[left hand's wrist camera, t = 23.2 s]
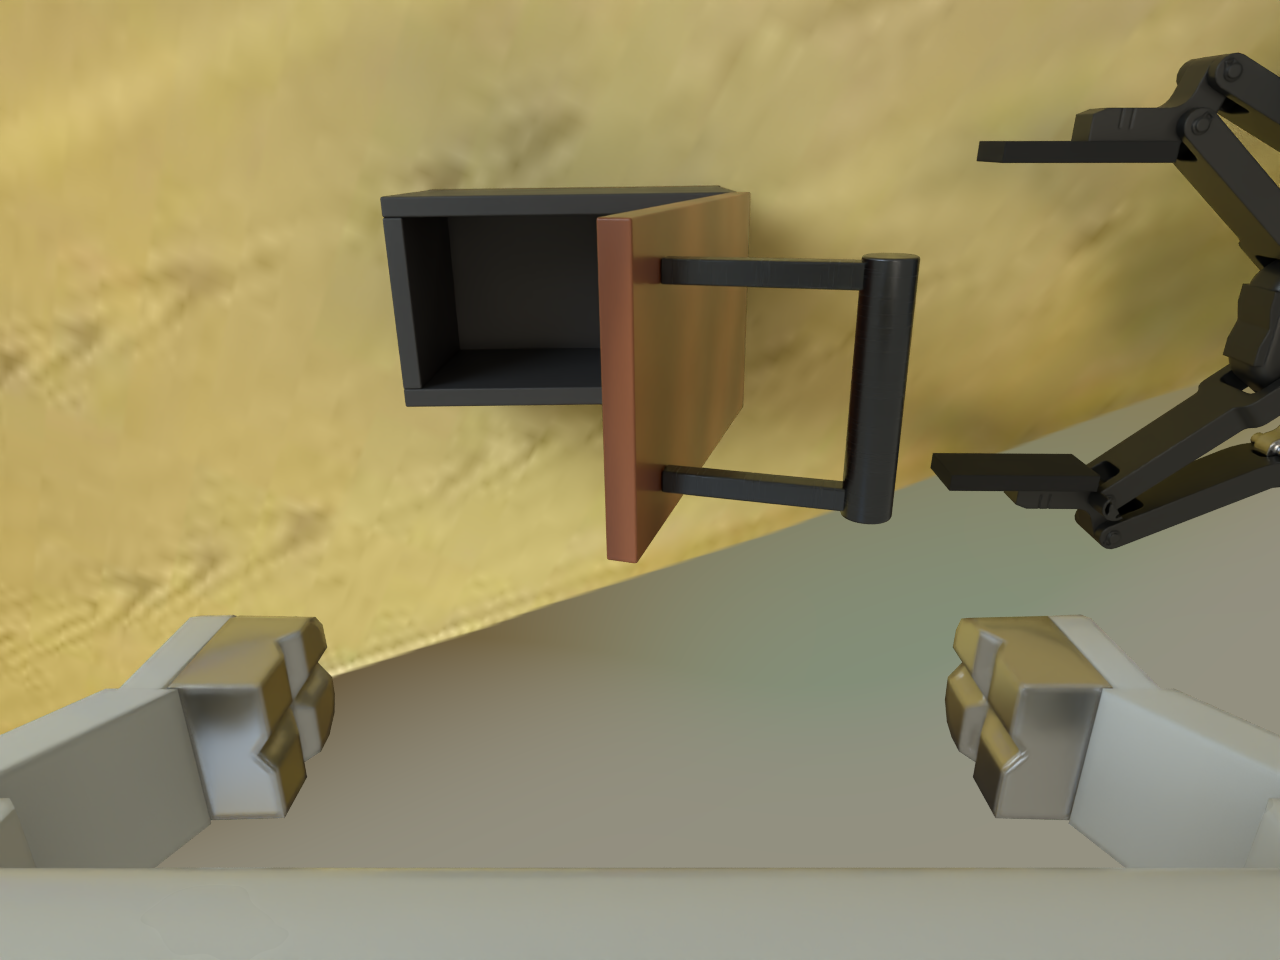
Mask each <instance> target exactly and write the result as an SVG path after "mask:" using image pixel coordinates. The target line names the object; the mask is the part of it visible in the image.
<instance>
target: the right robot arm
mask: <svg viewBox="0 0 1280 960" xmlns="http://www.w3.org/2000/svg"><path fill="white" fill-rule="evenodd" d="M1176 82H1177V85H1178V86H1177V87H1176V89H1175V91H1174V93H1173V94H1172V96H1171V97H1170V99H1169V100H1168V101H1167V102H1166V103H1165V104H1163V105H1162V106H1160V107H1157V108H1100V109H1089V110H1087V111H1084V112H1082V113H1079V114H1077V115H1076V118H1075V124H1074V129H1073V134H1072V139H1071V141H980V142H979V149H978V156H977V161H983V162H998V163H1173V164H1174V165H1175V166H1176V167H1177V168H1178V169H1179V171H1180V172H1181V173H1182V174H1183V175H1184V176H1185V177H1186V179H1187V180H1188V181H1189V182H1190V183H1191V184H1192V185H1193V187H1194V188H1195V189H1196V190H1197V191H1198V192H1199V193H1200V195H1201V196H1202V197H1203V198H1204V199H1205V200H1206V201H1207V203H1208V204H1209V205H1210V206H1211V207H1212V208H1213V209H1214V211H1215V212H1216V213H1217V214H1218V215H1219V216H1220V217H1221V219H1222V220H1223V221H1224V222H1225V223H1226V224H1227V225H1228V227H1229V228H1230V229H1231V230H1232V231H1233V232H1234V233H1235V235H1236V236H1237V237H1238V238H1239V239H1240V242H1239V246H1240V248H1241V249H1242V250H1243V251H1244V252H1245V253H1246V255H1247V256H1248V257H1249V258H1250V259H1251V260H1252V261H1253V263H1254V264H1255V265H1256V266H1257V267H1258V268H1259V269H1260V271H1259V272H1258V273H1257V274H1256V275H1255V277H1254V278H1253V279H1252V281H1251V282H1250V284H1243V286H1242V289H1241V293H1240V296H1239V300H1238V320H1237V322H1236V324H1235V326H1234V327H1233V329H1232V331H1231V333H1230V334H1229V336H1228V338H1227V342H1226V345H1225V349H1224V352H1223V355H1225V356H1228V357H1229V364H1228V365H1227V366H1225V367H1224V368H1222V369H1221V370H1219V371H1218V372H1216V373H1215V374H1213V375H1212V376H1210V377H1208V378H1207V379H1205V380H1204V381H1203V382H1201V383H1200V385H1199V389H1198V392H1197V393H1195V394H1194V395H1193V396H1191V397H1189V398H1188V399H1186V400H1185V401H1183V402H1182V403H1180V404H1179V405H1177V406H1176V407H1174V408H1173V409H1171V410H1170V411H1168V412H1167V413H1165V414H1163V415H1162V416H1160V417H1159V418H1157V419H1156V420H1154V421H1153V422H1151V423H1150V424H1148V425H1147V426H1145V427H1144V428H1142V429H1141V430H1139V431H1137V432H1136V433H1134V434H1133V435H1131V436H1130V437H1128V438H1127V439H1125V440H1124V441H1122V442H1121V443H1119V444H1118V445H1116V446H1115V447H1113V448H1112V449H1110V450H1108V451H1107V452H1105V453H1104V454H1102V455H1101V456H1099V457H1098V458H1096V459H1095V460H1093V461H1092V462H1090V463H1088V464H1087V465H1085V464H1084V463H1083V462H1081V461H1080V460H1079V459H1078V458H1076V457H1075V456H1074V455H1072V454H984V453H933V455H932V462H931V469H932V470H933V471H934V473H935V474H936V475H937V476H938V477H939V479H940V480H941V481H942V482H943V483H944V485H945V486H946V487H947V488H948V489H949V490H950V491H1004V493H1005V494H1006V495H1007V496H1008V497H1009V498H1010V499H1011V500H1012V501H1013V502H1014V503H1015V504H1016V505H1019V506H1021V507H1024V508H1027V509H1037V508H1040V509H1047V508H1049V509H1077V511H1076V514H1075V520H1076V522H1077V523H1078V524H1079V525H1080V526H1081V527H1082V528H1083V529H1084V530H1085V531H1086V532H1087V533H1088V534H1090V535H1091V536H1092V537H1093V538H1094V539H1095V540H1096V541H1097V542H1098V543H1099V544H1100V545H1101V546H1103V547H1105V548H1107V549H1114V548H1117V547H1120V546H1123V545H1125V544H1128V543H1130V542H1133V541H1135V540H1138V539H1141V538H1143V537H1146V536H1148V535H1151V534H1154V533H1156V532H1159V531H1161V530H1164V529H1167V528H1169V527H1172V526H1174V525H1177V524H1179V523H1182V522H1185V521H1187V520H1190V519H1192V518H1195V517H1198V516H1200V515H1203V514H1205V513H1208V512H1211V511H1213V510H1216V509H1218V508H1221V507H1224V506H1226V505H1229V504H1231V503H1234V502H1237V501H1239V500H1242V499H1244V498H1247V497H1250V496H1252V495H1255V494H1257V493H1260V492H1263V491H1265V490H1268V489H1270V488H1275V487H1280V425H1279V426H1278V427H1277V428H1276V429H1274V430H1272V431H1269V432H1266V433H1264V434H1263V433H1256V434H1254V435H1253V436H1252V437H1251V443H1246V444H1240V445H1236V446H1232V447H1229V448H1226V449H1223V450H1220V451H1218V452H1215V453H1213V454H1210V455H1208V456H1205V457H1203V458H1200V459H1198V458H1199V457H1201V456H1202V455H1204V454H1205V453H1207V452H1209V451H1210V450H1212V449H1213V448H1215V447H1217V446H1218V445H1220V444H1221V443H1223V442H1225V441H1226V440H1228V439H1229V438H1231V437H1232V436H1234V435H1236V434H1237V433H1239V432H1240V431H1242V430H1244V429H1247V428H1257V427H1261V426H1263V425H1265V424H1267V423H1269V422H1270V421H1272V420H1274V419H1275V418H1277V417H1278V416H1280V188H1279V187H1278V186H1277V185H1276V184H1275V182H1274V181H1273V180H1272V179H1271V178H1270V177H1269V175H1268V174H1267V173H1266V172H1265V171H1264V169H1263V168H1262V167H1261V166H1260V165H1259V163H1258V162H1257V161H1256V160H1255V159H1254V158H1253V156H1252V155H1251V154H1250V153H1249V152H1248V150H1247V149H1246V148H1245V147H1244V146H1243V144H1242V143H1241V142H1240V141H1239V140H1238V138H1237V137H1236V136H1235V135H1234V134H1233V133H1232V131H1231V130H1230V129H1229V128H1228V127H1227V125H1226V124H1225V123H1224V122H1223V121H1222V119H1221V118H1220V117H1219V116H1218V115H1217V113H1218V114H1219V115H1221V116H1223V117H1224V118H1226V119H1227V120H1229V121H1231V122H1232V123H1234V124H1235V125H1237V126H1239V127H1240V128H1242V129H1243V130H1245V131H1247V132H1248V133H1250V134H1251V135H1253V136H1255V137H1256V138H1258V139H1259V140H1261V141H1263V142H1264V143H1266V144H1267V145H1269V146H1271V147H1272V148H1274V149H1276V150H1277V151H1279V152H1280V77H1278V76H1277V75H1275V74H1274V73H1272V72H1271V71H1269V70H1267V69H1266V68H1264V67H1263V66H1261V65H1260V64H1258V63H1257V62H1255V61H1253V60H1252V59H1250V58H1249V57H1247V56H1246V55H1244V54H1241V53H1233V54H1224V55H1217V56H1210V57H1204V58H1199V59H1192V60H1190V61H1188V62H1186V63H1185V64H1184V65H1183V66H1182V67H1181V68H1180V70H1179V72H1178V74H1177V80H1176ZM1248 386H1249V387H1250V388H1251V389H1252V390H1253V391H1254V392H1255V393H1253V394H1249V393H1246V392H1243V391H1242V390H1243V389H1245V388H1247V387H1248ZM1196 459H1198V460H1196ZM1194 460H1195V461H1194Z"/></svg>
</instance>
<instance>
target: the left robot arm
mask: <svg viewBox="0 0 1280 960" xmlns="http://www.w3.org/2000/svg"><path fill="white" fill-rule="evenodd" d="M326 648H327V644H326V640H325V635H324V630H323V625H322V624H321V623H320V622H319V621H318V619H317V618H316V617H285V616H235V615H207V616H196V617H190V618H189V619H188V620H187V621H186V622H185V623H184V624H183V625H182V626H181V627H180V628H179V629H178V630H177V631H176V632H175V633H174V634H173V635H172V636H171V637H170V638H169V639H168V640H167V641H166V642H165V643H164V644H163V645H162V646H161V647H160V648H159V649H158V650H157V651H156V652H155V653H154V654H153V655H152V656H151V657H150V658H149V659H148V660H147V661H146V662H145V663H144V664H143V665H142V666H141V667H140V668H139V669H138V670H137V671H136V672H135V673H134V674H133V675H132V676H131V677H130V678H129V679H128V680H127V681H126V682H125V683H124V684H123V685H122V686H121V687H120V688H119V689H104V690H102V691H99V692H97V693H95V694H93V695H90V696H88V697H86V698H84V699H81V700H79V701H77V702H74V703H72V704H70V705H68V706H65V707H63V708H61V709H59V710H56V711H54V712H52V713H50V714H47V715H45V716H43V717H40V718H38V719H36V720H34V721H31V722H29V723H27V724H25V725H22V726H20V727H18V728H15V729H13V730H11V731H9V732H6V733H4V734H2V735H0V960H1280V735H1278V734H1275V733H1273V732H1271V731H1269V730H1267V729H1264V728H1262V727H1260V726H1257V725H1255V724H1253V723H1251V722H1248V721H1246V720H1244V719H1242V718H1239V717H1237V716H1235V715H1232V714H1230V713H1228V712H1226V711H1224V710H1221V709H1219V708H1217V707H1214V706H1212V705H1210V704H1208V703H1205V702H1203V701H1201V700H1199V699H1196V698H1194V697H1192V696H1189V695H1187V694H1185V693H1183V692H1180V691H1178V690H1176V689H1161V688H1160V687H1159V686H1158V685H1157V684H1156V683H1155V682H1154V681H1153V680H1152V679H1151V678H1150V677H1149V676H1148V675H1147V674H1146V673H1145V672H1144V671H1143V670H1142V669H1141V668H1140V667H1139V666H1138V665H1137V664H1136V663H1135V662H1134V661H1133V660H1132V659H1131V658H1130V657H1129V656H1128V655H1127V654H1126V653H1125V652H1124V651H1123V650H1122V649H1121V648H1120V647H1119V646H1118V645H1117V644H1116V643H1115V642H1114V641H1113V640H1112V639H1111V638H1110V637H1109V636H1108V635H1107V634H1106V633H1105V632H1104V631H1103V630H1102V629H1101V628H1100V627H1099V626H1098V625H1097V624H1096V623H1095V622H1094V621H1093V620H1092V619H1091V618H1088V617H1086V616H1083V615H1061V616H1028V617H989V618H988V617H987V618H964V619H961V621H960V623H959V625H958V627H957V629H956V633H955V639H954V644H953V648H954V650H955V651H956V653H957V655H958V656H959V658H960V659H961V661H962V663H961V664H960V665H959V666H958V667H957V668H956V669H955V671H953V672H952V674H951V675H950V676H949V677H948V680H947V688H946V696H945V705H946V717H947V723H948V727H949V730H950V733H951V737H952V739H953V741H954V742H955V744H956V746H957V748H958V750H959V752H961V753H962V754H964V755H965V756H967V757H969V758H970V759H972V760H973V761H975V762H976V764H975V769H974V775H973V778H974V780H975V782H976V783H977V785H978V787H979V789H980V791H981V793H982V794H983V796H984V798H985V800H986V802H987V803H988V805H989V807H990V809H991V811H992V812H993V814H994V816H995V818H1013V819H1049V820H1069V824H1070V825H1072V826H1073V827H1074V828H1075V829H1077V830H1078V831H1079V832H1081V833H1082V834H1083V835H1084V836H1086V837H1087V838H1088V839H1089V840H1091V841H1092V842H1093V843H1095V844H1096V845H1097V846H1098V847H1100V848H1101V849H1102V850H1104V851H1105V852H1106V853H1107V854H1109V855H1110V856H1111V857H1112V858H1114V859H1115V860H1116V861H1118V862H1119V863H1120V864H1121V865H1123V866H1124V867H1125V868H155V867H156V866H158V865H159V864H160V863H161V862H163V861H164V860H165V859H167V858H168V857H169V856H170V855H172V854H173V853H174V852H175V851H177V850H178V849H179V848H181V847H182V846H183V845H184V844H186V843H187V842H188V841H189V840H191V839H192V838H193V837H195V836H196V835H197V834H198V833H200V832H201V831H202V830H204V829H205V828H206V827H207V826H209V825H210V824H211V821H210V820H231V819H266V818H285V816H286V814H287V813H288V811H289V809H290V807H291V805H292V803H293V802H294V800H295V798H296V796H297V794H298V793H299V791H300V789H301V787H302V785H303V783H304V782H305V780H306V778H307V775H306V769H305V764H304V762H305V761H307V760H309V759H310V758H312V757H313V756H315V755H316V754H318V753H319V752H321V750H322V748H323V746H324V744H325V742H326V740H327V738H328V736H329V734H330V730H331V725H332V721H333V716H334V705H335V693H334V687H333V680H332V677H331V676H330V675H329V673H328V672H327V671H326V670H325V669H324V668H323V667H322V666H321V665H320V664H319V663H318V661H319V659H320V658H321V656H322V655H323V653H324V651H325V650H326Z"/></svg>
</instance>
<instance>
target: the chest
mask: <svg viewBox="0 0 1280 960" xmlns="http://www.w3.org/2000/svg"><path fill="white" fill-rule="evenodd" d="M730 192H735V191H732V190H729V189H725V188H722V187H720V186H650V187H578V188H505V189H432V190H428V191H421V192H413V193H406V194H398V195H391V196H383V197H381V199H380V200H381V208H382V216H383V217H384V218H383V225H384V233H385V241H386V250H387V258H388V266H389V274H390V282H391V290H392V298H393V306H394V314H395V322H396V330H397V338H398V346H399V354H400V362H401V370H402V378H403V386H404V395H405V403H406V406H407V407H424V406H504V405H585V404H602V380H601V348H600V316H599V284H598V252H597V218H598V217H603V216H608V215H613V214H618V213H624V212H629V211H634V210H640V209H645V208H650V207H655V206H661V205H666V204H671V203H677V202H682V201H687V200H693V199H698V198H703V197H708V196H714V195H719V194H724V193H730Z"/></svg>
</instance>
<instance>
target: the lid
mask: <svg viewBox="0 0 1280 960" xmlns="http://www.w3.org/2000/svg"><path fill="white" fill-rule="evenodd" d="M750 196H751V194H750V192H730V193H724V194H719V195H714V196H708V197H703V198H698V199H693V200H687V201H682V202H677V203H671V204H666V205H661V206H655V207H650V208H645V209H640V210H634V211H629V212H624V213H618V214H613V215H608V216H603V217H598V218H597V252H598V284H599V316H600V348H601V380H602V412H603V444H604V476H605V508H606V540H607V559H608V560H615V561H623V562H630V563H637V562H638V561H639V559H640V558H641V556H642V555H643V553H644V552H645V550H646V549H647V547H648V546H649V544H650V543H651V541H652V540H653V538H654V537H655V535H656V534H657V533H658V531H659V530H660V528H661V527H662V525H663V524H664V522H665V521H666V519H667V518H668V516H669V515H670V513H671V512H672V510H673V509H674V507H675V506H676V504H677V503H678V502H679V500H680V499H681V497H682V496H683V494H686V495H695V496H704V497H714V498H723V499H733V500H742V501H751V502H761V503H770V504H780V505H789V506H798V507H808V508H817V509H827V510H836V511H840V512H841V514H842V516H843V517H845V518H846V519H848V520H851V521H853V522H857V523H862V524H880V523H884V522H887V521H888V520H889V519H890V518H891V516H892V507H893V498H894V489H895V480H896V471H897V462H898V453H899V444H900V435H901V426H902V417H903V409H904V400H905V391H906V382H907V373H908V364H909V355H910V346H911V337H912V328H913V319H914V310H915V301H916V292H917V283H918V274H919V265H920V257H919V256H917V255H913V254H903V253H872V254H866V255H863V257H862V260H843V259H794V258H748V253H749V225H750ZM747 287H764V288H797V289H829V290H859V298H858V310H857V322H856V333H855V345H854V357H853V368H852V380H851V392H850V404H849V415H848V427H847V439H846V450H845V462H844V474H843V481H834V480H823V479H813V478H802V477H792V476H782V475H771V474H761V473H750V472H740V471H730V470H719V469H709V468H702V466H703V465H704V463H705V462H706V460H707V459H708V457H709V456H710V454H711V453H712V451H713V450H714V448H715V447H716V445H717V444H718V443H719V441H720V440H721V438H722V437H723V435H724V434H725V432H726V431H727V429H728V428H729V426H730V425H731V423H732V422H733V420H734V419H735V417H736V416H737V414H738V413H739V412H740V410H741V409H742V407H743V394H744V366H745V338H746V310H747Z"/></svg>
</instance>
